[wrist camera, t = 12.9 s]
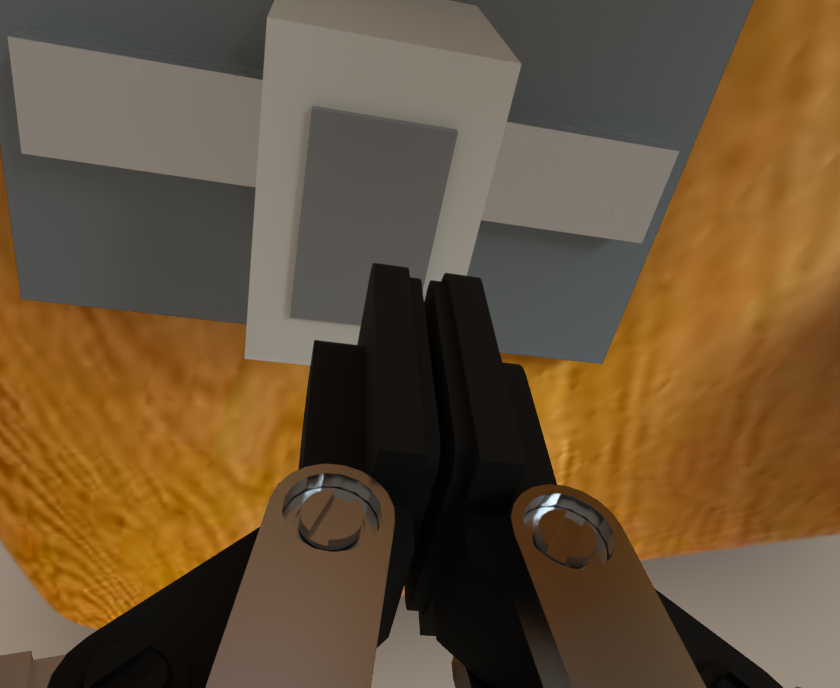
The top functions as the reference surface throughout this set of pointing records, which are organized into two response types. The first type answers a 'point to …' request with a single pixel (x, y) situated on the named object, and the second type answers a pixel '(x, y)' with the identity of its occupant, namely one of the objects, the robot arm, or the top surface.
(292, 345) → the module
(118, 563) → the top surface
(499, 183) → the steel rail
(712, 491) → the top surface
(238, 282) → the board
